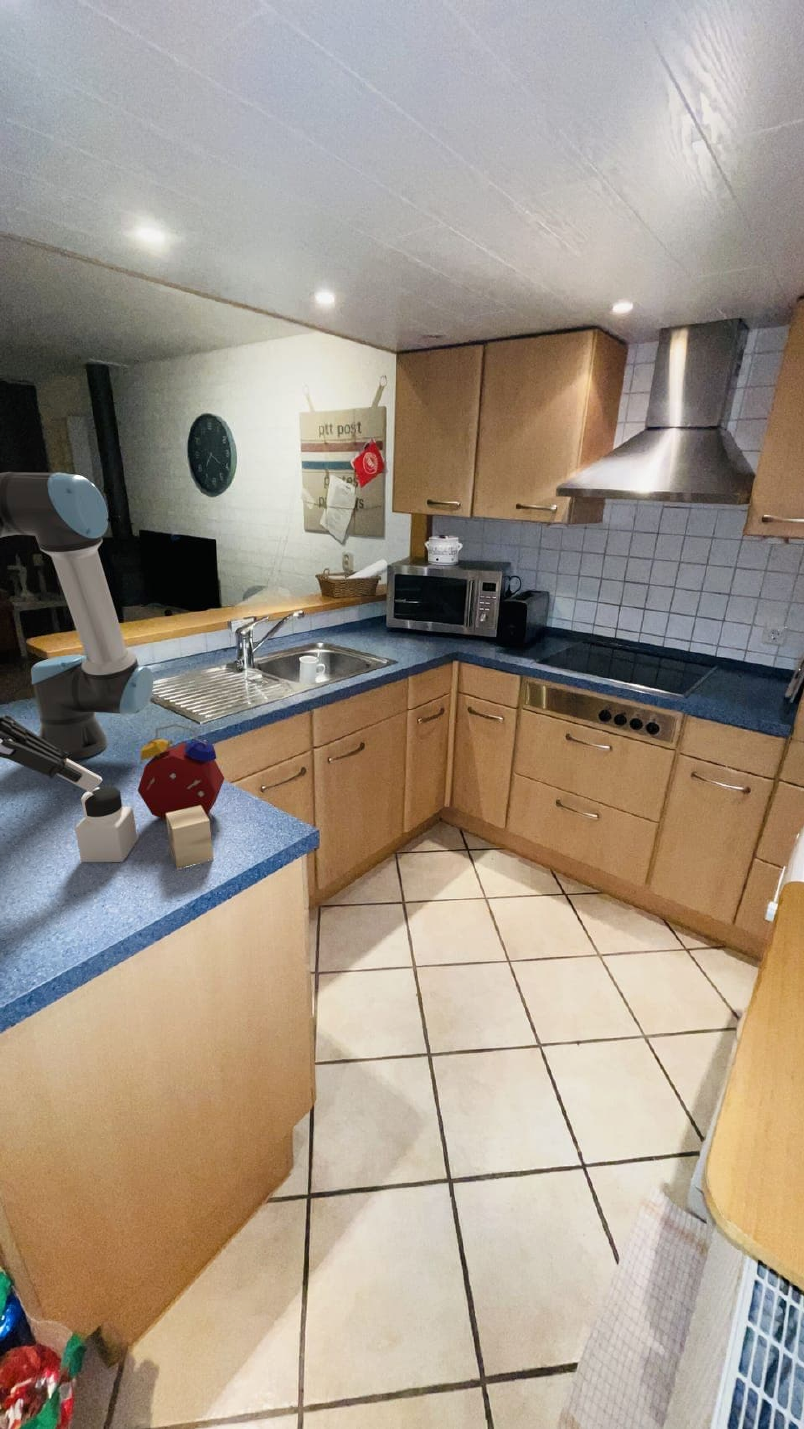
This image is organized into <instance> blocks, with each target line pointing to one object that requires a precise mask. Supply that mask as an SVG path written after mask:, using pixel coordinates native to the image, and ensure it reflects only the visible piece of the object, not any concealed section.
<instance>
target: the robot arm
mask: <svg viewBox="0 0 804 1429" xmlns="http://www.w3.org/2000/svg"><path fill="white" fill-rule="evenodd" d="M106 504H107V503H106V502H105V499H104V497H103V495H102V493H101V491H99V488H97V487H96V485H95V484H94V483H92V482H91V481H90V480H89V479H88V478H86V477H84V476H83V475H79V474H73V473H72V474H70V473H65V472H18V471H16V472H15V471H8V472H0V538H3V537H8V536H15V535H18V536H20V535H21V536H22V535H23V536H35V538H36V542H37V544H38V547H39V550H40V551H42V552H43V553H45V554H46V555H49V556H50V557H51V560H52V563H53V565H54V568H55V571H56V573H57V577H58V579H59V582H60V586H61V589H62V590H63V591H62V592H63V594H64V597H65V600H66V603H67V607H68V609H69V612H70V615H71V618H72V620H73V623H74V627H75V629H76V632H77V636H78V639H79V641H80V643H81V647H82V649H83V652H84V655H85V656H84V655H82V654H69V655H68V654H67V655H59V656H56V657H51V658H48V659H45V660H42V661H39V662H37V663H35V664H34V665H33V666H32V667H31V669H30V676H31V685H32V688H33V693H34V697H35V702H36V706H37V711H38V717H39V722H40V727H39V732H38V733H39V734H38V735H37V734H36V733H34V732H33V731H31V730H30V729H28V728H26V727H25V726H23V725H21V723H19V722H18V721H16V720H15V719H14V718H12V716H10V715H5V716H1V717H0V758H1V759H2V758H3V759H5V760H6V759H7V760H9V761H11V762H14V763H16V764H18V765H21V766H23V767H26V768H28V769H29V770H32V771H35V772H38V773H40V774H42V775H45V776H47V777H49V779H51V780H52V779H54V778H55V777H56V776H58V777H60V778H62V779H64V780H65V781H68V782H70V783H71V784H74V785H76V786H77V787H80V788H81V789H83V790H85V791H86V792H87V791H88V792H90V793H92V792H93V791H94V790H95V789H96V788H98V787H99V785H100V784H101V783H102V782H103V778H102V776H101V775H98V774H97V773H95V772H93V771H91V770H89V769H87V768H85V767H84V766H82V765H80V764H79V763H76V762H75V761H76V760H77V761H78V760H81V759H82V760H83V759H87V758H89V757H92V756H95V755H97V754H99V753H102V752H103V751H104V750H105V749H107V747H108V744H109V743H108V738H107V735H106V733H105V731H104V729H103V727H102V726H101V724H100V723H99V721H98V719H97V716H96V713H100V714H103V713H104V714H121V715H123V716H124V715H136V714H140V713H141V712H143V711H144V710H146V708H147V707H148V705H149V703H150V701H151V699H152V694H153V691H154V675H153V672H152V670H151V669H150V668H149V667H148V666H146V665H144V664H141V665H140V664H139V661H138V658H137V655H136V654H135V652H133V651H132V650H130V649H128V648H127V646H126V643H125V640H124V636H123V633H122V629H121V626H120V622H119V619H118V615H117V612H116V608H115V606H114V602H113V598H112V596H111V592H110V589H109V584H108V582H107V578H106V575H105V571H104V568H103V564H102V562H101V558H100V554H99V551H98V550H99V547H100V546H101V545H102V543H103V536H104V534H106V532H107V529H108V527H109V522H108V519H109V513H108V508H107V505H106Z"/></svg>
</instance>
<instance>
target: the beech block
mask: <svg viewBox="0 0 804 1429" xmlns="http://www.w3.org/2000/svg"><path fill="white" fill-rule="evenodd" d="M210 823H211V822H210V818H208V817H207V815H206V814H205V812H204V810H203V808H202V806H201V805H200V806H195V807H191V808H187V809H182V810H178V811H174V812H169V813H166V828H167V834H168V842H169V850H170V854H171V855H172V856H173V857H172V859H173V861H174V863H175V866H176V868H178V869H179V870H181V869H180V868H182V869H185V868H184V867H186V866H190V865H193V864H197V865H199V864H198V863H200V864H203V863H202V862H204V863H206V862H205V861H207V862H209V861H208V860H211V859H213V860H214V854H213V843H212V835H211V834H212V833H211V824H210ZM211 861H212V860H211ZM193 866H194V865H193ZM190 867H191V866H190ZM186 868H187V867H186ZM178 869H177V870H178Z"/></svg>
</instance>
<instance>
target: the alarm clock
mask: <svg viewBox="0 0 804 1429" xmlns="http://www.w3.org/2000/svg"><path fill="white" fill-rule="evenodd" d="M174 727H177V728H181V729H185V730H188V731H191V732H194V738H195V740H192V741H191V742H189V743H187V744H186V743H180V744H177V745H175V744H174V742H175V739H173V738H171V739H170V740H169V741H168V740H166V739H164V738H161V739H159V733H158V732H159V731H162V730H165V729H169V728H174ZM154 730H155V731H154V732H155V738H153V739H151V738H148V739H147V741H148V742H147V744H146V745H145V746H143V747H142V748H141V750H140V753H141V754H140V761H143V760H148V759H150V760H149V761H148V762H147V763H146V764H145V766H144V769H143V772H142V774H141V779H140V781H139V785H138V787H137V792H138V793H139V795H140V797H141V799H142V800H143V802H144V804H145V806H146V807H147V808H148V810H149V812H150V813H151V815H152V816H155V817H157V818H159V819H163V820H166V813H169V812H174V811H178V810H182V809H187V808H191V807H195V806H200V805H201V806H202V808H203V810H204V812H205V814H206V815H207V817H208V819H212V818H213V815H212V813H211V810H212V808H213V806H214V805H215V804H216V802H217V800H218V797H219V794H220V792H221V789H222V786H223V783H224V781H225V777H224V775H223V773H222V771H221V769H220V767H219V766H218V764H217V761H216V760H217V753H216V750H215V746H214V745H213V744H211V743H210V742H208V741H207V740H205V739H204V740H200V739H199V738H198V733H197V729H195V728H190V727H188V726H183V725H180V724H177V723H174V724H169V725H166V726H161V727H158V728H155V729H154ZM172 745H173V747H171V746H172ZM166 821H167V820H166Z"/></svg>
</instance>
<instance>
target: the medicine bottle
mask: <svg viewBox="0 0 804 1429" xmlns="http://www.w3.org/2000/svg"><path fill="white" fill-rule="evenodd" d="M80 801H81V805H82V806H81V807H82V811H83V816H84V817H83V818H82V819H81V820H80V821H79V822H78V824H77V825H76V826H75V827H74V830H75V836H76V842H77V845H78V852H79V856H80V861H81V862H82V863H123V862H124V861H125V859H126V858H127V856H128V855H129V853H130V852H131V850H132V849H133V847H134V846H135V844H136V843H137V841H138V834H137V828H136V827H137V826H136V822H135V814H134V809H133V807H132V806H123V802H122V794H121V791H120V789H118V788H117V787H114V786H97V788H96V789H95V790H94V791H93V792H92V793H90V792H88V791H87V790H86V792H84V794H83V795H82V796H81V798H80Z"/></svg>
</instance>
